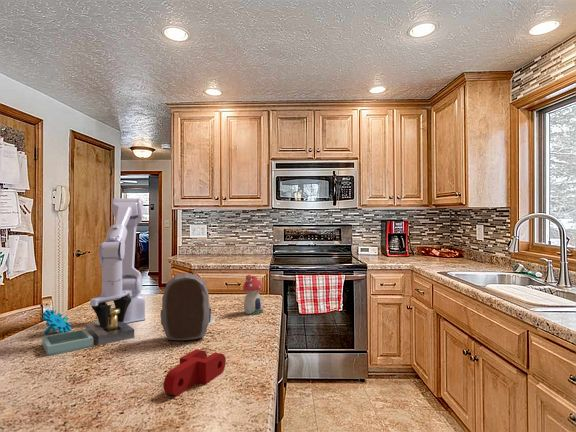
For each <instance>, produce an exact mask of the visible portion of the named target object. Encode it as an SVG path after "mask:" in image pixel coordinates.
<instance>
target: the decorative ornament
mask: <svg viewBox="0 0 576 432" xmlns="http://www.w3.org/2000/svg"><path fill="white" fill-rule="evenodd" d="M242 286H243V287H242V289H243V290H242V291H243V292H244V293H246V295H245V297H244V301H243V310H244V314H246V315H251V316H254V315H260V314H262V313H263V311H264V306H263V304H262V303H263V302H262V301H263V300H262V297H261V295H260V293H259V291H261V290H262V289H263V287H264V285H263V282H262V281H261V280H260V279H259V277H257V276H253V275H251V274H246V275H245V282H244V284H243V285H242Z"/></svg>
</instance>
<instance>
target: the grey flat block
mask: <svg viewBox="0 0 576 432" xmlns="http://www.w3.org/2000/svg"><path fill="white" fill-rule="evenodd" d="M85 330H86V331H87V332H88V333H89V334H90V335H91V336H92V337H93V342H95V343H96V344H97V345H99V346H100V345H101V346H102V345H105V344H111V343H115V342H118V341H119V342H120V341H124V340H129V339H133V338H135V329H134V328H133V327H132V326H130V325H129V324H128V323H124V322H118V330H115V331H109V332H107V328H102V327H100V323H99V320H98V318H97V319H95V320H94V321H93V322H89V323H88V322H87V323H85Z"/></svg>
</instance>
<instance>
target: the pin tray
mask: <svg viewBox="0 0 576 432" xmlns="http://www.w3.org/2000/svg"><path fill="white" fill-rule="evenodd" d="M41 347H42V348H43V350H44V352H45V354H46V356H47V357H50V356H56V355H60V354H64V353H68V352H69V353H70V352H74V351H80V350H84V349H88V348H92V347H94V340H93V337H92V336H91V335H90V334H89V333H88V332H87V331H86V328H84V329H78V330H72V331H71V330H70V331H69V332H65V333H64V332H63V333H55V334H50V335H43V336H41Z"/></svg>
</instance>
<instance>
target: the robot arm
mask: <svg viewBox="0 0 576 432" xmlns="http://www.w3.org/2000/svg"><path fill="white" fill-rule="evenodd" d="M111 212H112V214H113V217H114V221H113V224H112V225H110V226H109V227H108V229H107V230H108V231H107V233H106V236H105V240H104V241H103V242H102V243H100V244H99V247H98V258H99V265H100V267H101V293H100V294H99V295H98V296H96V297H93V298H90V301H89V305H90V307H91V308H92V310H93V312H94V313H95V315H96V317H97V319H98V320H99V323H100V327H102V328H107V327H108V316H109V311H110V308H112V305H111V304H108V303H110V302H113V304H114V308H120V313H118V322H124V323H126V324H129V323H136V322H139V321H144V320H146V301H145V295H144V294H143V293H142V289H143V280H142V278H143V276H142V273H141V272H140V271H139V270H137V269H136V268H135V255H136V243H137V242H136V238H137V228H138V224H140V223H142V221H143V218H144V216H143V215H144V201H143V199H142V198H141V197H139V198H137V197H135V198H130V197H129V198H127V197H126V198H123V197H120V198H117V197H113V199H112V202H111Z"/></svg>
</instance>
